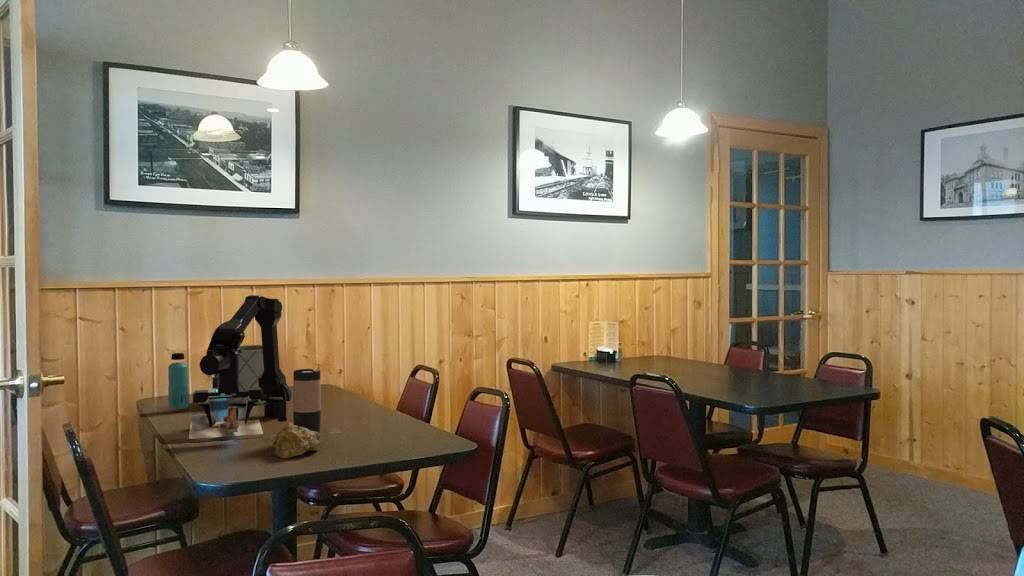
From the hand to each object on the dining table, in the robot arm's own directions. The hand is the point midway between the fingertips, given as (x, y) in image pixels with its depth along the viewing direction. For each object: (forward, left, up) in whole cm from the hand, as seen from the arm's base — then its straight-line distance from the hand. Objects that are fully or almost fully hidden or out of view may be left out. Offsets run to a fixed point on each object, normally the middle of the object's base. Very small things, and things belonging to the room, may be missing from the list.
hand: (228, 425), depth 224 cm
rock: (-17, +24, -4) cm, 30 cm away
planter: (-9, -63, -4) cm, 64 cm away
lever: (0, -9, -2) cm, 9 cm away
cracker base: (+1, -10, -4) cm, 11 cm away
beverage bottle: (+15, -51, -4) cm, 53 cm away
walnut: (+5, -15, -3) cm, 16 cm away
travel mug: (-21, +8, -4) cm, 23 cm away
